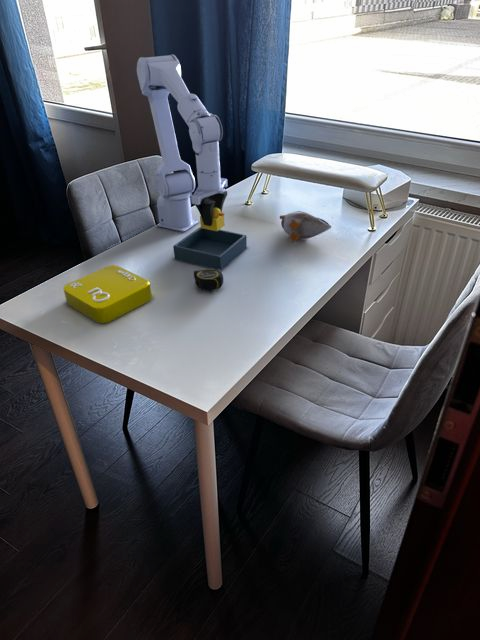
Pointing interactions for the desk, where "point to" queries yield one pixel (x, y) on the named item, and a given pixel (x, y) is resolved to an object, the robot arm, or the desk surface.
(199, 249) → the blue square tray
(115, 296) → the element tile
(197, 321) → the desk surface
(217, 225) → the rubber duck
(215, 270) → the tape measure
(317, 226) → the decorative duck model
